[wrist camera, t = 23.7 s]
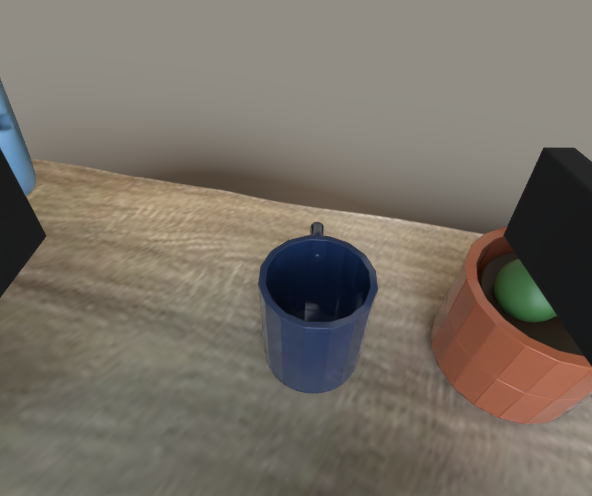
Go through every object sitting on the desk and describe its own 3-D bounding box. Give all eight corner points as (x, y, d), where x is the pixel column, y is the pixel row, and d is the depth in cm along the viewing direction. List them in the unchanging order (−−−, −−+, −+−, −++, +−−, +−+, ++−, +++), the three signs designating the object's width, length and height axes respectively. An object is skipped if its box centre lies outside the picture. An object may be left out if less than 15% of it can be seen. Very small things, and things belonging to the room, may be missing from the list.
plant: (462, 320, 27) (496, 263, 23) (492, 243, 33) (525, 184, 28) (606, 387, 24) (679, 336, 20) (614, 290, 29) (673, 231, 25)
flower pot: (409, 375, 33) (443, 308, 25) (451, 281, 40) (488, 207, 32) (564, 460, 28) (659, 408, 21) (581, 337, 35) (657, 266, 28)
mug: (361, 396, 32) (383, 331, 24) (260, 391, 32) (252, 325, 24) (353, 282, 39) (367, 208, 32) (272, 279, 40) (269, 204, 32)
